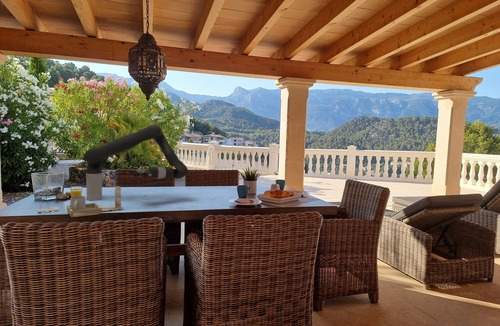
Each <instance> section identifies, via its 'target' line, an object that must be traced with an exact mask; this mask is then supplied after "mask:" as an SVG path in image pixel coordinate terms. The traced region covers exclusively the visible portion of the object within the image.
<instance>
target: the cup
mask: <svg viewBox="0 0 500 326" xmlns="http://www.w3.org/2000/svg"><path fill="white" fill-rule="evenodd" d="M69 200H70V205H71V209H72V210H73V211H78V210H86V209H85V204H86V196H82V195H79V196H78V195H76V196H71V197H70V199H69Z"/></svg>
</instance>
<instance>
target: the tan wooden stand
mask: <svg viewBox="0 0 500 326" xmlns="http://www.w3.org/2000/svg"><path fill="white" fill-rule="evenodd" d="M121 188H122V187H121V186H115V187H114V201H115V202H114V205H113V206H105V207H101V206H100V205H99V204H98V203H97V202H92V203H85V210H78V211H73V210H72V209H71V204H70V205H66V211H68V212H67V213H68V215H69V214H70V215H69V216H70V218H78V217H85V216H95V215H102V214H103V212H110V211H109V210H112V211H118V210H119V209H120V210H124V208H123V206H121V205H122V204H121V202H122V194H121V190H122V189H121ZM102 211H103V212H102Z"/></svg>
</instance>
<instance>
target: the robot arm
mask: <svg viewBox="0 0 500 326" xmlns="http://www.w3.org/2000/svg"><path fill="white" fill-rule="evenodd" d="M149 140H153V141H155V143H157V145H158V146H159V148H160V150H161V152H162V154H163V156H164V158H165V159H166V161H167V163H168V164H169V166H164V167H163V166H149V167H148V169H134V170H128V174H129V175H132V177H141V178H149V179H150V180H154V179H155V180H157V179H159V180H160V179H169V178H171V179H175V180H177V179H182V178H183V179H184V177H185V176H187V175H188V173H189V169H188V167H187V165H186V164H185V163H184V162H183V161H181V160H180V158H179V157H178V155H177V154H176V152H175V151H174V149H173V148H172V147H171V145H170V143H169V141H168V140H167V138H166V137H165V133H164V132H163V130H162V127H160V126H159V125H157V124H150V125H148V126H146V127H144V128H143V129H139V131H135V132H133V133H129V134H126V135H123V136H120V137H118V138H116V139H114V140H112V141H111V140H110V141H109V142H107V143H106V144H104V145H101V146H98V147H94V148H90V149H89V148H88V149H87V150H86V151H85V152H84V154H83V159H84V161H85V162H87V167H86V168H85V170H86V172H85V176H86V177H85V178H86V200H88V201H99V200H102V199H103V167H104V164H103V163H104V159H105V158H107V157H109V156H114V155H116V154H120V153H124V152H127V151H129V150H131V149H133V148H135V147H137V146H138V145H140V144H141V143H143V142H146V141H149ZM173 167H174V168H173Z"/></svg>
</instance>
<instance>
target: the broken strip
mask: <svg viewBox="0 0 500 326" xmlns="http://www.w3.org/2000/svg"><path fill="white" fill-rule="evenodd" d="M37 210H38V211H37V213H38V212H45V211H57V212H60V208H59V207H51V208H42V209H40V208H39V209H37Z"/></svg>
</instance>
